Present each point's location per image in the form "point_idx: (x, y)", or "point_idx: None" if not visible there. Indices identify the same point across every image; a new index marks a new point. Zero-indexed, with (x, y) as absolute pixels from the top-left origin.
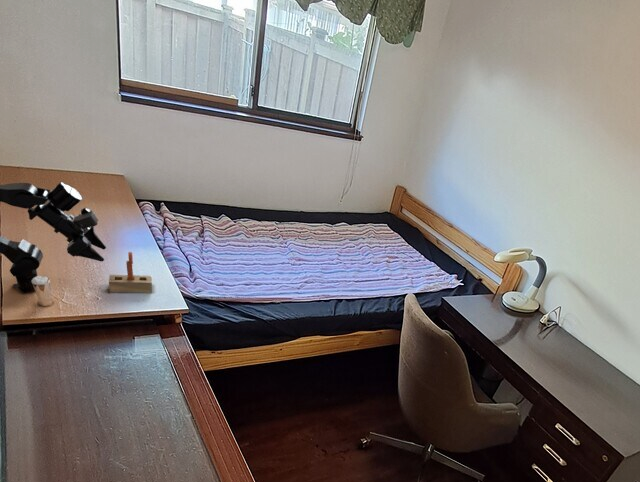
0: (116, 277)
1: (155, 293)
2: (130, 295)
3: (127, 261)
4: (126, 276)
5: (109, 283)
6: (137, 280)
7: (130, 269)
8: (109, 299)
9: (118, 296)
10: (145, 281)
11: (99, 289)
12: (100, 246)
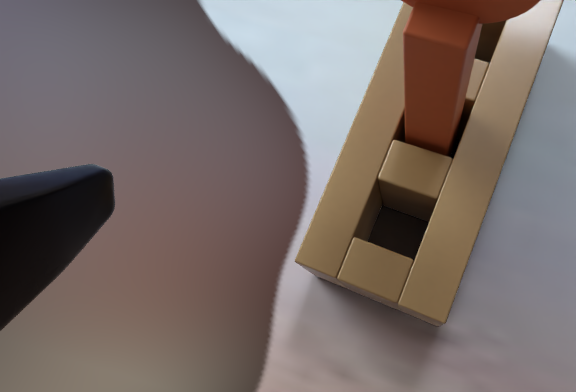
0: (357, 223)
1: (563, 24)
2: (541, 200)
3: (426, 27)
4: (377, 139)
5: (445, 319)
6: (488, 77)
7: (470, 63)
8: (566, 378)
9: (531, 291)
10: (530, 20)
11: (358, 384)
12: (59, 242)
